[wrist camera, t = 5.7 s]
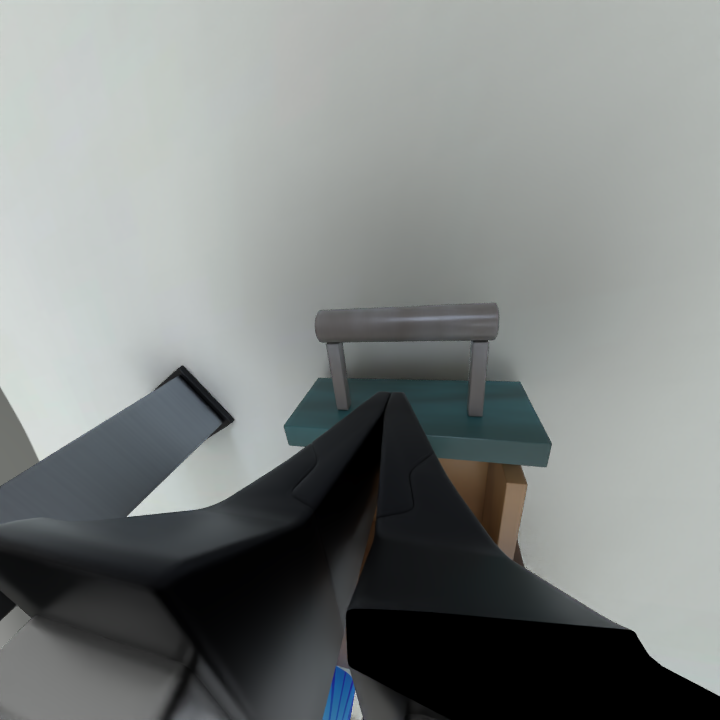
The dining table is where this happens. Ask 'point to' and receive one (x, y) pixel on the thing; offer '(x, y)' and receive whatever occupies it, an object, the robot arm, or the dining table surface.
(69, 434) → the dining table surface
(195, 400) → the grey box with handle
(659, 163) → the dining table surface
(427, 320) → the drawer
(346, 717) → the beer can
